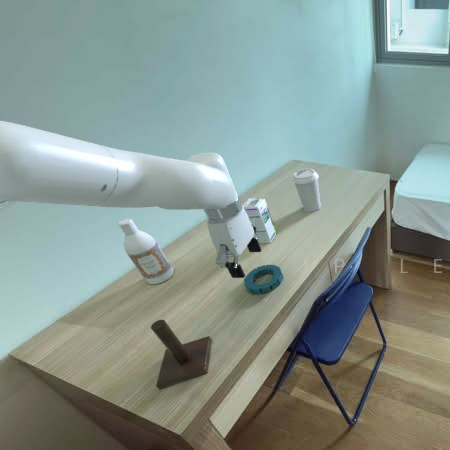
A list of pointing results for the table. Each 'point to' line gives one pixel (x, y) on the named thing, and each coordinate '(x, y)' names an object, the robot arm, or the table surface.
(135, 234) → the bath foam
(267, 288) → the ring
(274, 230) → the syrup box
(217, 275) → the table surface
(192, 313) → the table surface
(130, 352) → the table surface
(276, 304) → the table surface
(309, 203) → the coffee cup
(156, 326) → the stand
